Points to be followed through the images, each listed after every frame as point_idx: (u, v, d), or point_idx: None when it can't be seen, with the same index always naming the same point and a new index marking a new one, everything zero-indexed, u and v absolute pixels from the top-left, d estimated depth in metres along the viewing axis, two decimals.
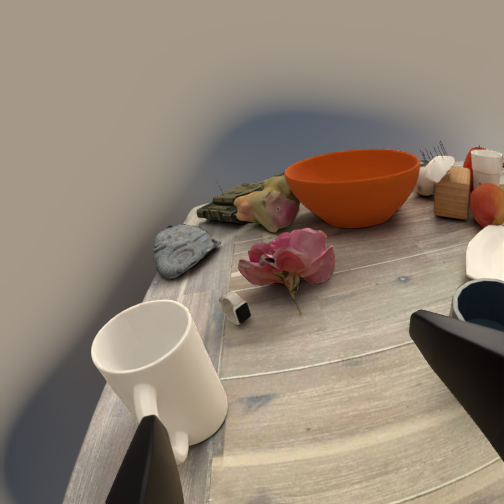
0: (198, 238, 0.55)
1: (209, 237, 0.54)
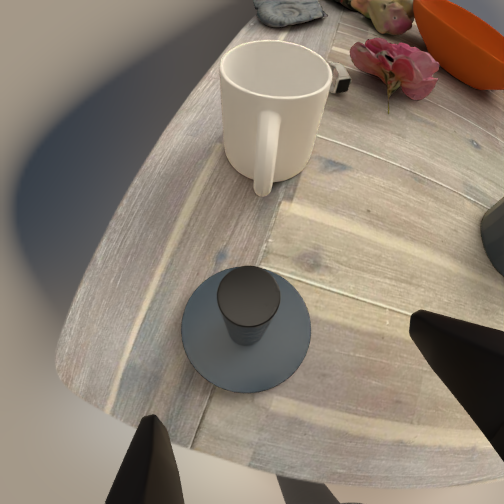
0: (308, 3, 0.39)
1: (320, 7, 0.38)
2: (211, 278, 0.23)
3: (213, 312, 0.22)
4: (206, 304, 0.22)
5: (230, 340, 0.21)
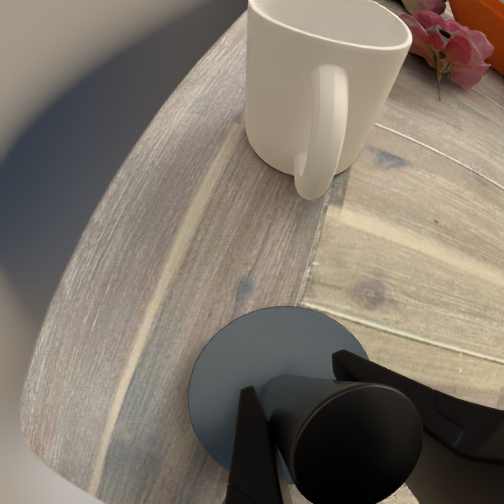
0: None
1: None
2: (232, 325, 0.15)
3: (236, 377, 0.14)
4: (225, 365, 0.14)
5: None
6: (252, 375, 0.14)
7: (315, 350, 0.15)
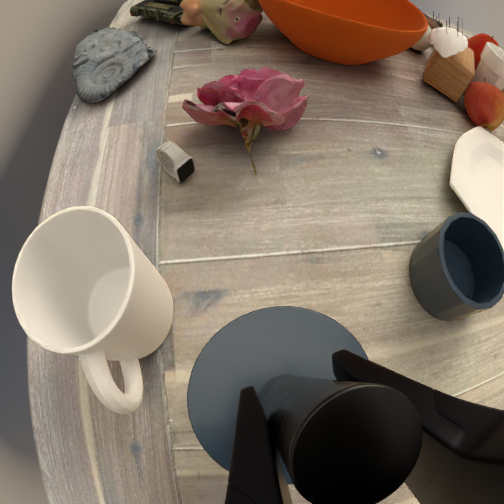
0: (129, 48, 0.33)
1: (143, 47, 0.33)
2: (231, 325, 0.15)
3: (235, 377, 0.14)
4: (224, 365, 0.14)
5: None
6: (251, 375, 0.14)
7: (314, 350, 0.15)
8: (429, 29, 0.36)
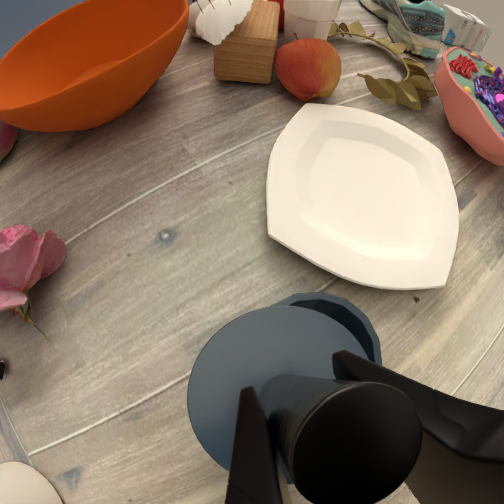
0: None
1: None
2: (231, 324, 0.15)
3: (235, 377, 0.14)
4: (224, 365, 0.14)
5: None
6: (251, 375, 0.14)
7: (314, 350, 0.15)
8: None
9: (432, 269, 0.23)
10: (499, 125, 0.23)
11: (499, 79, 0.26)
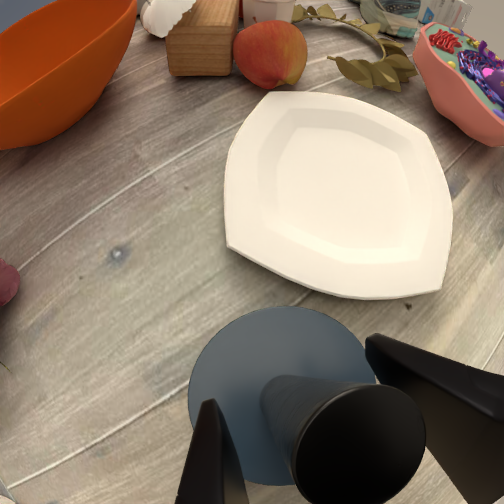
0: None
1: None
2: (232, 325, 0.15)
3: (236, 377, 0.14)
4: (225, 365, 0.14)
5: (263, 418, 0.13)
6: (252, 375, 0.14)
7: (316, 350, 0.14)
8: None
9: (425, 271, 0.20)
10: (489, 101, 0.20)
11: (484, 53, 0.23)
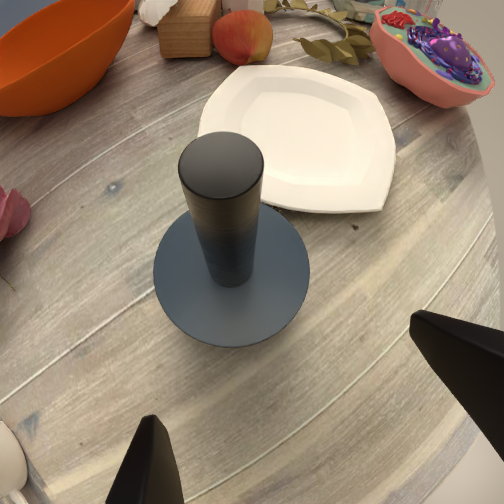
0: None
1: None
2: None
3: (192, 248, 0.19)
4: (184, 239, 0.19)
5: (211, 281, 0.18)
6: None
7: None
8: None
9: (365, 194, 0.25)
10: (433, 64, 0.25)
11: (438, 29, 0.28)
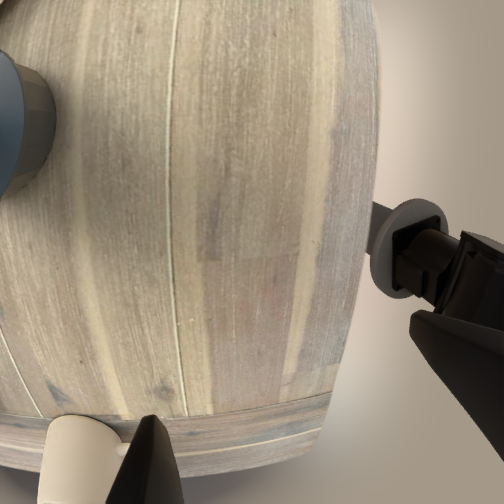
0: None
1: None
2: None
3: None
4: None
5: None
6: None
7: None
8: None
9: None
10: None
11: None
